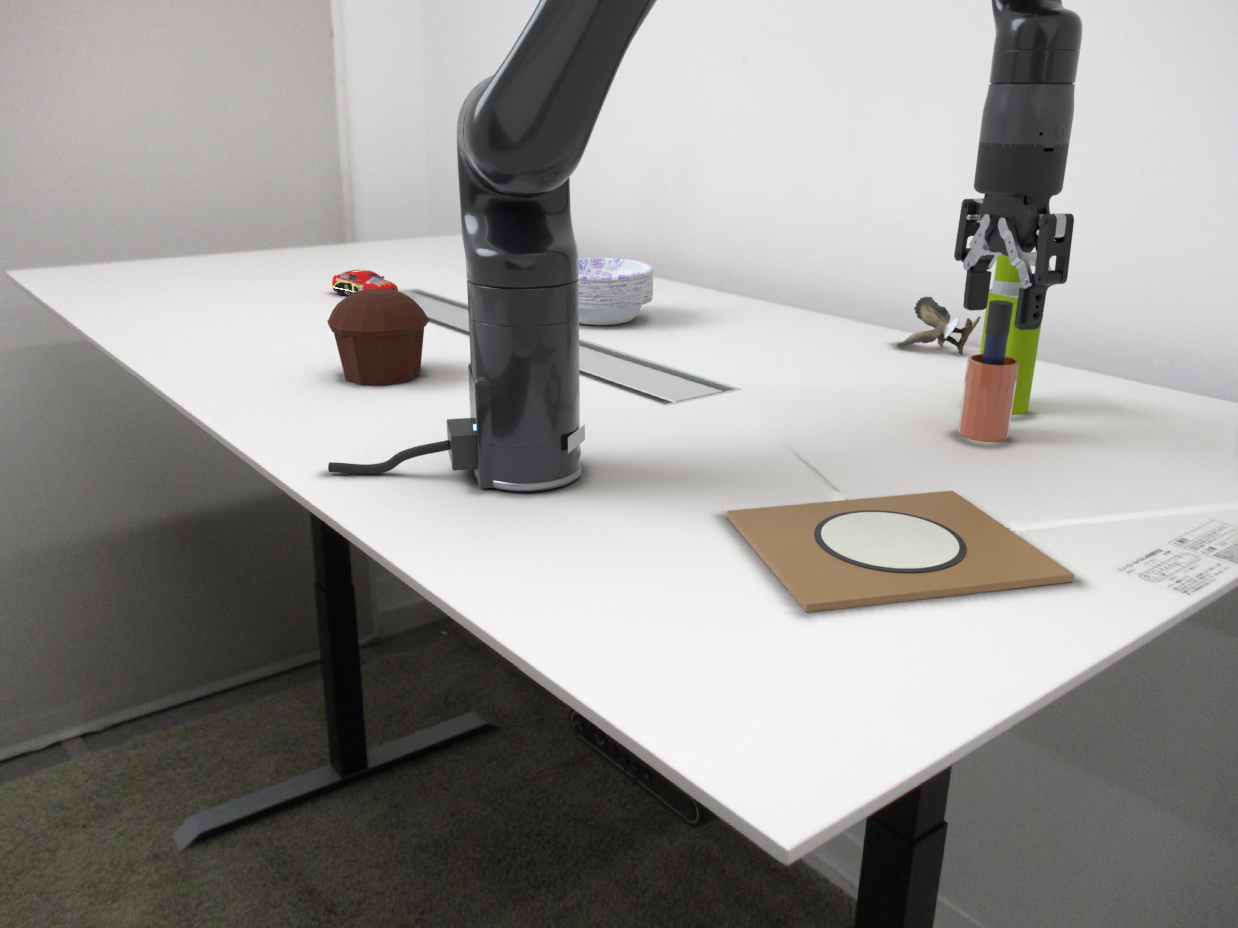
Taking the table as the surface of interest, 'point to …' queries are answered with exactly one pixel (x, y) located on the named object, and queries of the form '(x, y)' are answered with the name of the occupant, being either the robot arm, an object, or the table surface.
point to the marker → (997, 332)
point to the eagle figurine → (938, 325)
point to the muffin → (379, 336)
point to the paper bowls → (612, 290)
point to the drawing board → (891, 550)
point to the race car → (360, 281)
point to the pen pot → (988, 399)
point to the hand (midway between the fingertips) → (999, 319)
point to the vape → (1014, 332)
